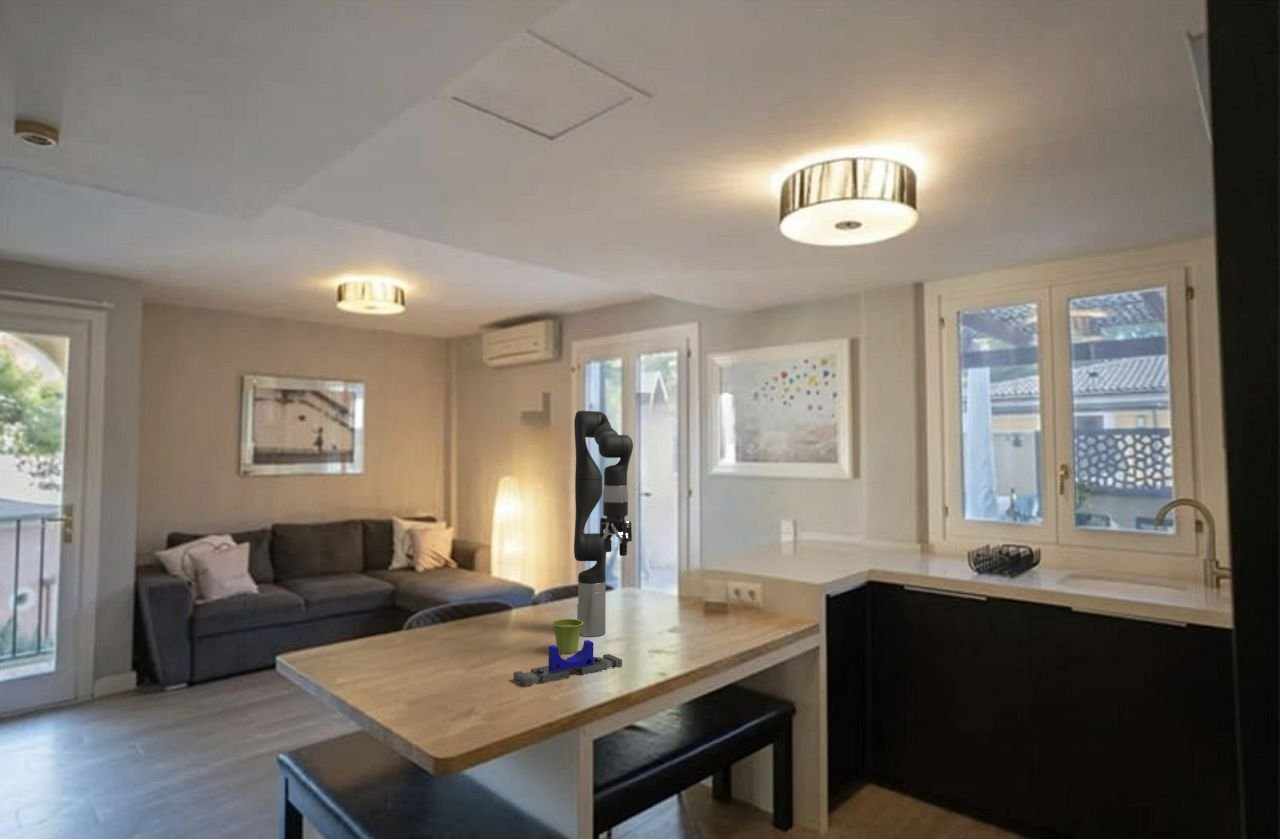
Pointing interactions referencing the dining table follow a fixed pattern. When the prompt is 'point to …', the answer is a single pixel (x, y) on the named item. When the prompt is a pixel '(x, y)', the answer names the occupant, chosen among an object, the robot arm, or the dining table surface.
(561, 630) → the plant pot
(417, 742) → the dining table surface
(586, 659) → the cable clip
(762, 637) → the dining table surface
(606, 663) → the grey slotted plastic plates
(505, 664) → the dining table surface
